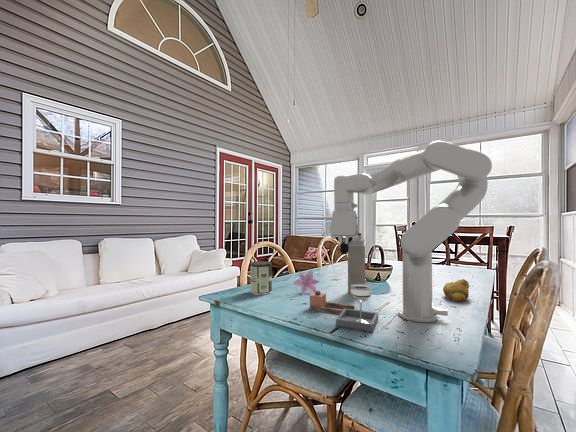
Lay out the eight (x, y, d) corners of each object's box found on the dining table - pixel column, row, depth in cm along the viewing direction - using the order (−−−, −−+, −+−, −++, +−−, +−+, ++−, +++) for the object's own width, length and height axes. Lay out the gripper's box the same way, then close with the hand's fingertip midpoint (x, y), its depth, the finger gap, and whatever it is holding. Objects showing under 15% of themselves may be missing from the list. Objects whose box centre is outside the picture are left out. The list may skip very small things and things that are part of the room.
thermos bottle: (363, 290, 135) (362, 232, 135) (367, 295, 127) (366, 233, 127) (346, 290, 135) (345, 232, 135) (349, 295, 127) (349, 233, 127)
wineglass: (355, 316, 99) (355, 282, 99) (374, 321, 95) (374, 285, 95) (346, 322, 94) (346, 286, 94) (366, 327, 89) (365, 289, 89)
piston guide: (354, 309, 109) (354, 305, 109) (348, 318, 99) (348, 313, 99) (317, 304, 115) (317, 300, 115) (308, 312, 106) (308, 308, 106)
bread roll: (469, 304, 113) (469, 284, 113) (441, 301, 118) (441, 282, 118) (469, 296, 123) (468, 278, 124) (443, 293, 129) (443, 276, 129)
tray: (378, 320, 97) (378, 312, 97) (372, 332, 87) (372, 324, 87) (344, 315, 102) (344, 308, 102) (336, 326, 92) (335, 319, 92)
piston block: (326, 306, 112) (325, 290, 112) (322, 310, 108) (321, 293, 108) (314, 304, 114) (314, 289, 114) (309, 308, 110) (309, 292, 110)
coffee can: (262, 288, 142) (262, 260, 142) (276, 291, 135) (276, 262, 135) (246, 292, 135) (245, 262, 135) (260, 296, 128) (259, 265, 128)
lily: (289, 295, 133) (292, 279, 128) (296, 280, 143) (300, 265, 138) (313, 304, 130) (317, 289, 126) (319, 288, 140) (323, 274, 136)
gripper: (365, 207, 112) (365, 253, 112) (328, 208, 118) (329, 251, 118) (361, 206, 105) (361, 256, 105) (322, 207, 111) (323, 254, 111)
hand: (344, 253), depth 111 cm, fingers closed
